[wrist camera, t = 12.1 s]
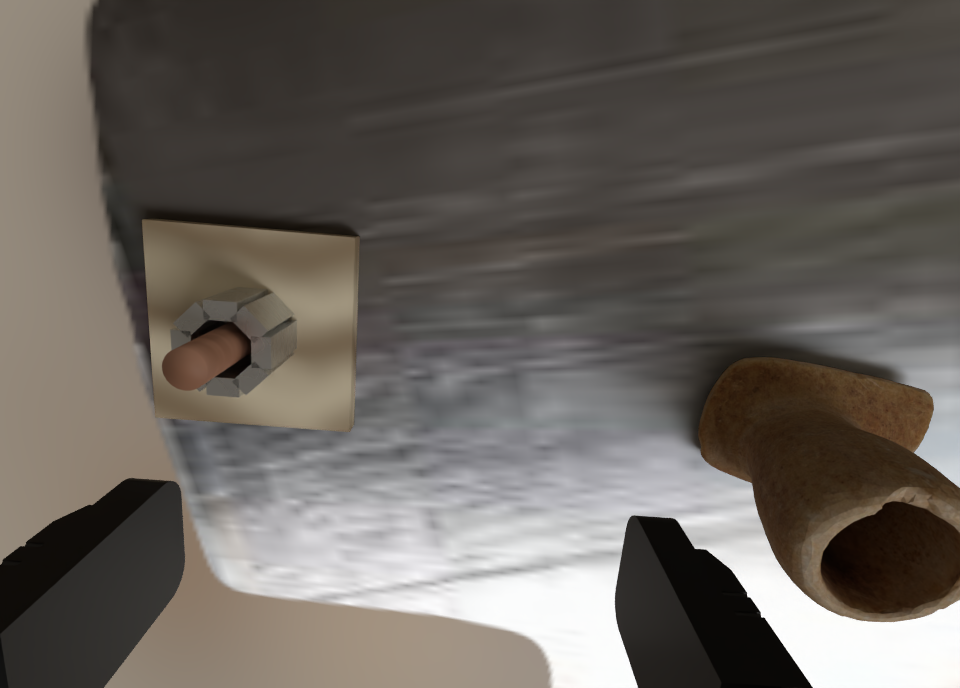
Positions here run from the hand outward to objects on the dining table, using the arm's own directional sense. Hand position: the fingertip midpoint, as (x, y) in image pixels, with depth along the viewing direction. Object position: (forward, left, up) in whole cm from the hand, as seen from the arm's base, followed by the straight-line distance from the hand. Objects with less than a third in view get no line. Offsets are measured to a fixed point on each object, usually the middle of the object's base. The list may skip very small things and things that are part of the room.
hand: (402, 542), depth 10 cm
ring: (+4, -14, -29) cm, 32 cm away
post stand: (+4, -14, -30) cm, 33 cm away
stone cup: (+9, +26, -30) cm, 41 cm away
